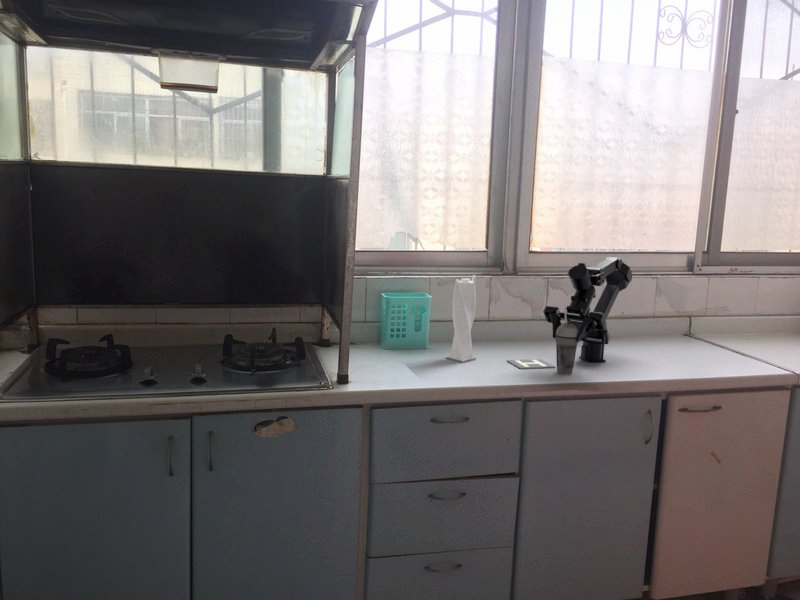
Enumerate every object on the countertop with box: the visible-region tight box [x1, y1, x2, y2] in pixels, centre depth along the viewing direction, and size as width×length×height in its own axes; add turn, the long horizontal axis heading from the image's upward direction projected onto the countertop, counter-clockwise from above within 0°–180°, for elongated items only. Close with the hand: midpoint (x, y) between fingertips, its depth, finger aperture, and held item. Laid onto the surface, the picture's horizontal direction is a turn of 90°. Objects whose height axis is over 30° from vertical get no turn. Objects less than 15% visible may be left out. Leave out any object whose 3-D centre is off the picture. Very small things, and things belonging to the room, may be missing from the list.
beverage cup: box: [555, 307, 579, 375], centre depth 209 cm, size 7×7×20 cm
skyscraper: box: [445, 274, 477, 363], centre depth 221 cm, size 8×8×28 cm
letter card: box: [506, 358, 556, 370], centre depth 220 cm, size 12×10×1 cm
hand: (565, 339), depth 208 cm, fingers closed on beverage cup, 7 cm apart
